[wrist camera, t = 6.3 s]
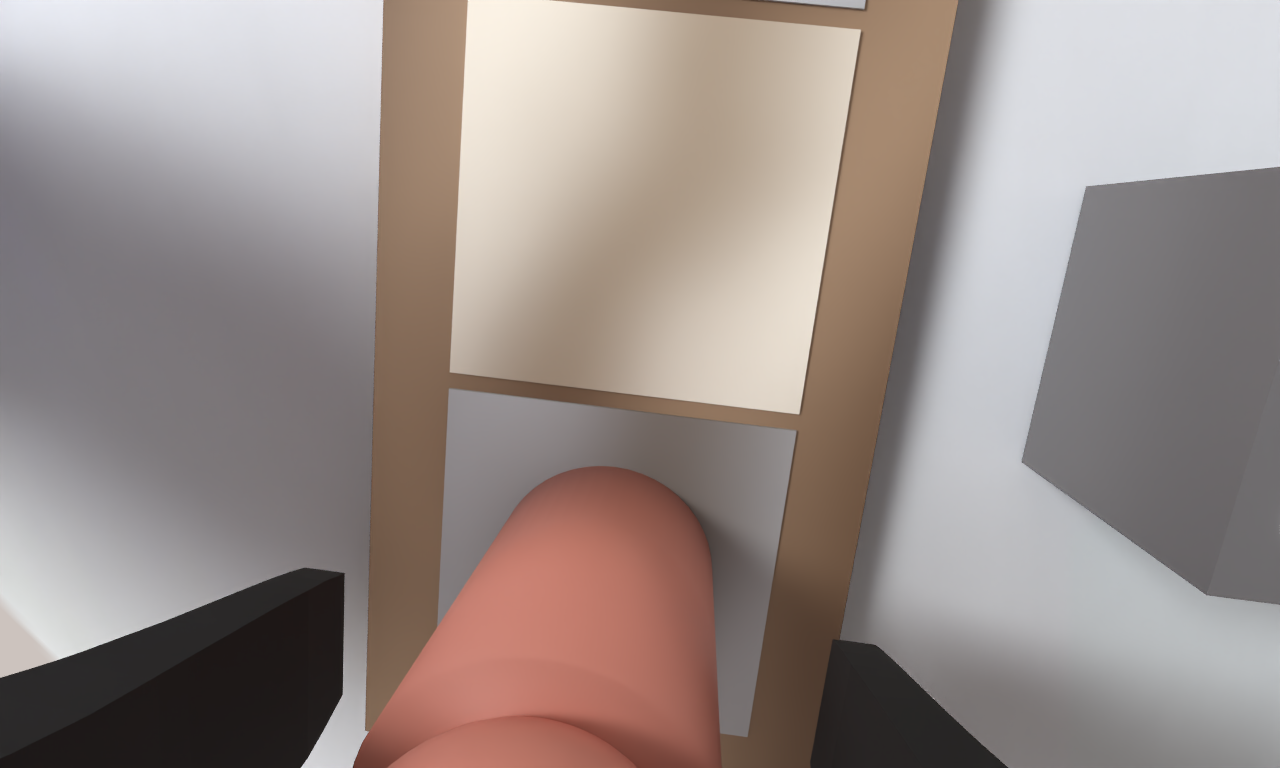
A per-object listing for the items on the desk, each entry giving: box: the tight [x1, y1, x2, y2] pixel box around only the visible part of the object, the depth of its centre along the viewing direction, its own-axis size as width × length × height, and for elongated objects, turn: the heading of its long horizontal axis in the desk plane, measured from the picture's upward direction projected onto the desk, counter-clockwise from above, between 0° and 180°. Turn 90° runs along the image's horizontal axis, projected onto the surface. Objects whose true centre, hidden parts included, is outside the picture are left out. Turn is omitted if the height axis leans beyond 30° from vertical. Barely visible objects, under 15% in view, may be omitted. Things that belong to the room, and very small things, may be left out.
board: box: [365, 0, 958, 768], centre depth 12 cm, size 9×28×1 cm, turn 174°
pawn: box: [353, 466, 722, 768], centre depth 9 cm, size 4×4×9 cm
